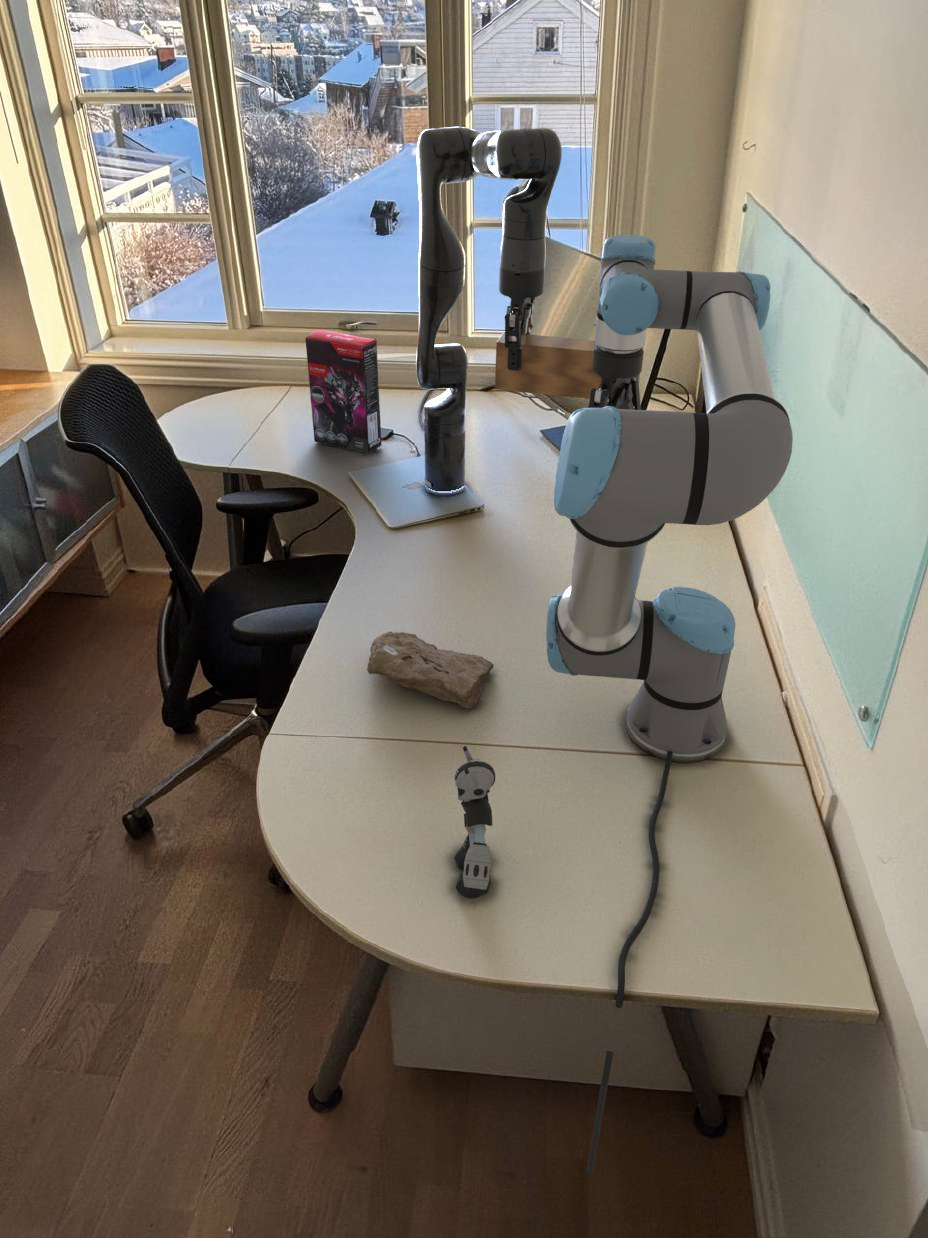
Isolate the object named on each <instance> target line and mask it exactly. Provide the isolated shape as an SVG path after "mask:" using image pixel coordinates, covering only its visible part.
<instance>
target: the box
mask: <svg viewBox="0 0 928 1238" xmlns="http://www.w3.org/2000/svg"><path fill="white" fill-rule="evenodd" d="M511 341H516V337H515V336H512V340H511ZM522 344H523V347H522V351H521V368H520V369H519V370H518V371H516V370H509V369H508V348H505V331H503V332H502V333H501V335H500V336H499V337H498V339H497V341H496V343H495V371H494V373H495V374H494V375H495V376H494V390H499V391H507V392H516V393H517V392H519V393H527V394H536V395H538V394H539V395H547V396H557V397H567V398H575V399H576V398H577V399H585V400H590V394H591V390H592V388H595V389H598V388H599V385H600V384H601V380H602V378H601V377H600V376H599V375H598V374H596V373H595V372H594V371H593V369H592V364H593V352H594V347H595V346H596V345H597V344H596V343H595V339H594V340H592V339H584V338H583V339H582V338H573V337H571V338H570V337H563V336H562V337H560V336H551V335H550V336H549V335H539V334H530V335H529V334H526V335H525V336H523V343H522ZM644 346H645V345H644ZM644 346H643V347H642V349H643V350H644ZM640 377H641V373H640V374H639V378H638V381H639V382H640V380H641V379H640Z"/></svg>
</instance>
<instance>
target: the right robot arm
mask: <svg viewBox="0 0 928 1238" xmlns="http://www.w3.org/2000/svg"><path fill="white" fill-rule="evenodd" d="M656 250H657V249H656V243H655V241H654V240H653V239H652V238H650V237H647V236H643V235H637V234H617V235H612V236H609V237H608V238H606V239H605V241H604V243H603V246H602V253H601V258H600V272H599V273H600V274H599V284H598V300H597V301H598V302H597V311H596V319H595V320H594V321H593V326H594V327H595V334H594V340H595V343H596V344H597V345H596V346H595V347H594V352H593V364H592V369H593V371H594V372H595V373H596V374H598V375H599V376H600V377H601V378H602V380H601V384H600V385H599V388H598V389H595V388H592V390H591V394H590V399H589V402H588V406H587V407H581V408H578V409H576V410H574V411H573V412H572V413H571V414H570V415H569V417H568V419H567V421H566V424H565V426H564V431H563V434H562V437H561V438H562V439H561V444H560V452H559V456H558V461H557V466H556V473H555V482H554V483H555V484H554V492H553V506H554V511H555V513H556V514H558V515H559V516H561V517H565V518H567V519H568V520H569V521H570V524H571V526H572V527H573V528H574V529H575V530H576V534H575V544H574V553H573V563H572V574H571V583H570V586H569V587H568V588H566V590H565V591H564V592H562V593H559V594H554V595H552V596H551V597H550V599H549V601H548V606H547V614H546V627H545V628H546V630H545V632H546V633H545V635H546V636H545V637H546V638H545V639H546V654H547V656H546V657H547V662H548V664H549V667H550V668H551V669H552V670H553V671H554V672H557V673H560V674H566V675H570V676H574V677H575V676H589V677H600V678H601V677H603V678H614V679H627V680H639V681H643V682H642V684H641V685H640V688H639V689H638V691H637V692H636V694H635V695H634V697H633V699H632V701H631V702H630V704H629V706H628V708H627V711H626V719H625V728H626V732H627V734H628V736H629V738H630V739H631V741H632V742H634V744H636V745H637V746H638V747H639V748H640V749H641V750H643V751H645V752H646V753H648V754H650V755H651V756H654V757H656V758H659V759H662V760H665V762H664V767H663V771H662V777H661V783H660V787H659V792H658V797H657V798H656V803H655V805H654V808H653V811H652V814H651V817H650V821H649V826H648V843H649V848H650V853H651V860H652V879H651V887H650V891H649V895H648V898H647V902H646V905H645V907H644V910H643V912H642V915H641V916H640V918H639V920H638V922H637V923H636V925H635V927H633V929H632V930H631V932H630V934H629V935H628V936H627V938H626V940H625V942H624V944H623V945H622V947H621V948H622V949H621V952H620V955H619V959H618V963H617V964H618V965H617V991H616V997H615V998H616V999H615V1007H616V1009H622V1007H623V1005H624V999H625V991H626V990H625V989H626V962H627V957H628V954H629V952H630V949H631V947H632V946H633V944H634V942H635V941H636V939H637V938H638V936H639V934H640V933H641V932H642V930H643V929H644V927H645V925H646V923H647V922H648V919H649V917H650V915H651V912H652V909H653V906H654V903H655V901H656V897H657V892H658V888H659V881H660V858H659V852H658V848H657V843H656V833H655V832H656V824H657V820H658V816H659V814H660V811H661V808H662V805H663V802H664V798H665V794H666V790H667V784H668V779H669V776H670V775H669V774H670V769H671V764H672V762H675V763H694V762H700V761H703V760H706V759H709V758H711V757H714V755H716V754H718V752H720V751H721V750H722V748H723V747H724V744H725V743H726V740H727V739H726V738H727V733H728V721H727V716H726V712H725V708H724V707H725V706H724V701H723V692H724V686H725V682H726V678H727V674H728V673H727V672H728V668H729V664H730V659H731V654H732V651H733V649H734V646H735V632H736V620H735V617H734V614H733V612H732V610H731V609H730V608H729V607H728V605H726V603H724V602H723V601H722V600H720V599H718V598H717V597H716V596H714V595H712V594H711V593H708V592H707V591H704V590H700V589H697V588H693V587H687V586H671V587H669V588H665V589H663V590H661V591H659V593H657V596H656V597H655V598H654V600H643V599H640V600H639V599H638V598H637V597H636V595H637V590H638V585H639V581H640V577H641V573H642V568H643V564H644V561H645V555H646V552H647V547H648V543H649V542H651V541H652V540H653V539H655V538H656V537H657V536H658V535H659V533H660V532H662V530H663V529H664V527H665V526H666V524H674V525H675V524H676V525H691V526H714V525H720V524H725V523H727V522H731V521H733V520H736V519H738V518H740V517H742V516H744V515H746V514H747V513H749V512H750V511H752V510H754V509H755V508H756V507H758V506H759V505H760V504H761V503H763V502H764V501H765V500H766V499H767V498H768V496H769V495H770V494H771V493H773V491H774V490H775V488H776V487H777V486H778V485H779V483H780V482H781V480H782V478H783V477H784V475H785V473H786V471H787V469H788V466H789V464H790V460H791V457H792V453H793V442H794V440H793V436H794V435H793V429H792V425H791V420H790V416H789V413H788V411H787V410H786V408H785V406H784V405H783V404H782V403H781V402H780V401H779V400H777V399H776V398H775V395H774V390H773V386H772V382H771V377H770V372H769V368H768V367H769V366H768V363H767V359H766V353H765V350H764V349H765V348H764V346H763V341H762V337H761V332H760V331H761V330H763V328H764V327H765V324H766V322H767V320H768V316H769V310H770V305H771V282H770V280H769V278H768V277H767V276H766V275H764V274H761V273H760V274H759V273H752V272H751V273H750V272H746V271H734V272H733V271H701V270H699V271H697V270H673V269H655V265H656ZM648 329H657V330H658V329H660V330H661V329H662V330H683V331H684V330H685V331H696V334H697V341H698V342H697V344H698V351H699V360H700V361H699V362H700V369H701V377H702V385H703V394H704V403H705V411H706V412H692V411H675V410H674V411H671V410H652V409H651V410H650V409H649V410H648V409H642V405H641V395H640V380H639V381H638V378H639V374H640V375H641V373H642V371H643V362H644V355H645V351H644V347H643V346H645V345H646V340H647V331H648ZM642 347H643V349H642ZM613 1059H614V1051H610V1050H606V1053H605V1058H604V1064H603V1070H602V1076H601V1083H600V1088H599V1094H598V1101H597V1106H596V1111H595V1118H594V1124H593V1130H592V1136H591V1141H590V1150H589V1154H588V1160H587V1162H588V1163H587V1166H586V1174H587V1175H593V1173H594V1169H595V1168H594V1167H595V1162H596V1157H597V1150H598V1144H599V1139H600V1134H601V1133H600V1132H601V1127H602V1121H603V1115H604V1109H605V1105H606V1099H607V1092H608V1088H609V1087H608V1086H609V1081H610V1075H611V1069H612V1066H613V1065H612V1064H613Z"/></svg>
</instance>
